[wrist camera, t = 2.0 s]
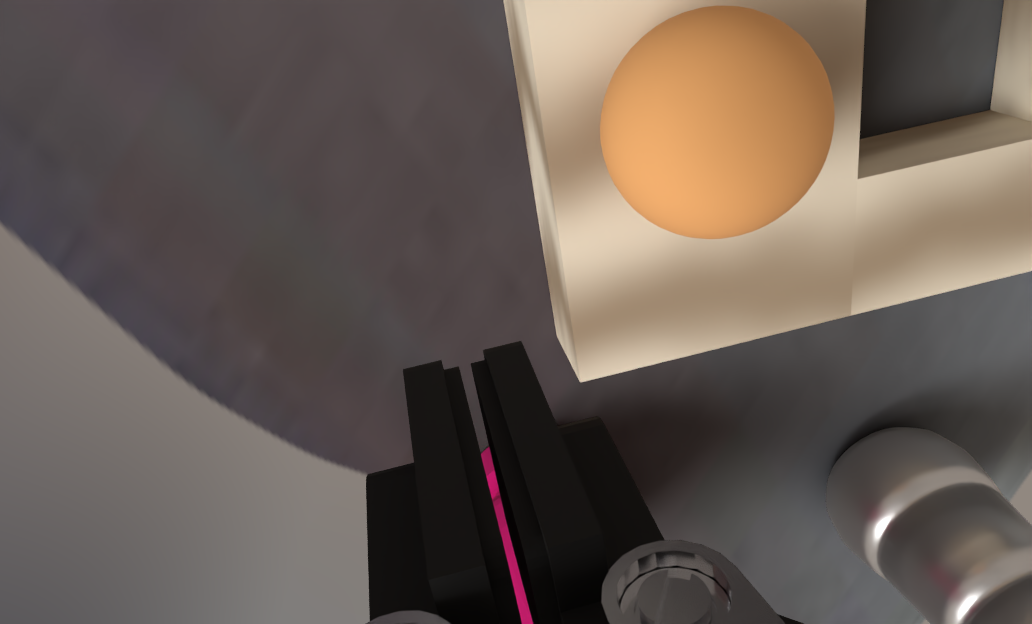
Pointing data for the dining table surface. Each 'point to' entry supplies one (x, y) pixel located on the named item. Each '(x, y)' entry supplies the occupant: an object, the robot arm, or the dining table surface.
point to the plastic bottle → (933, 527)
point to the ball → (717, 122)
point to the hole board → (792, 237)
